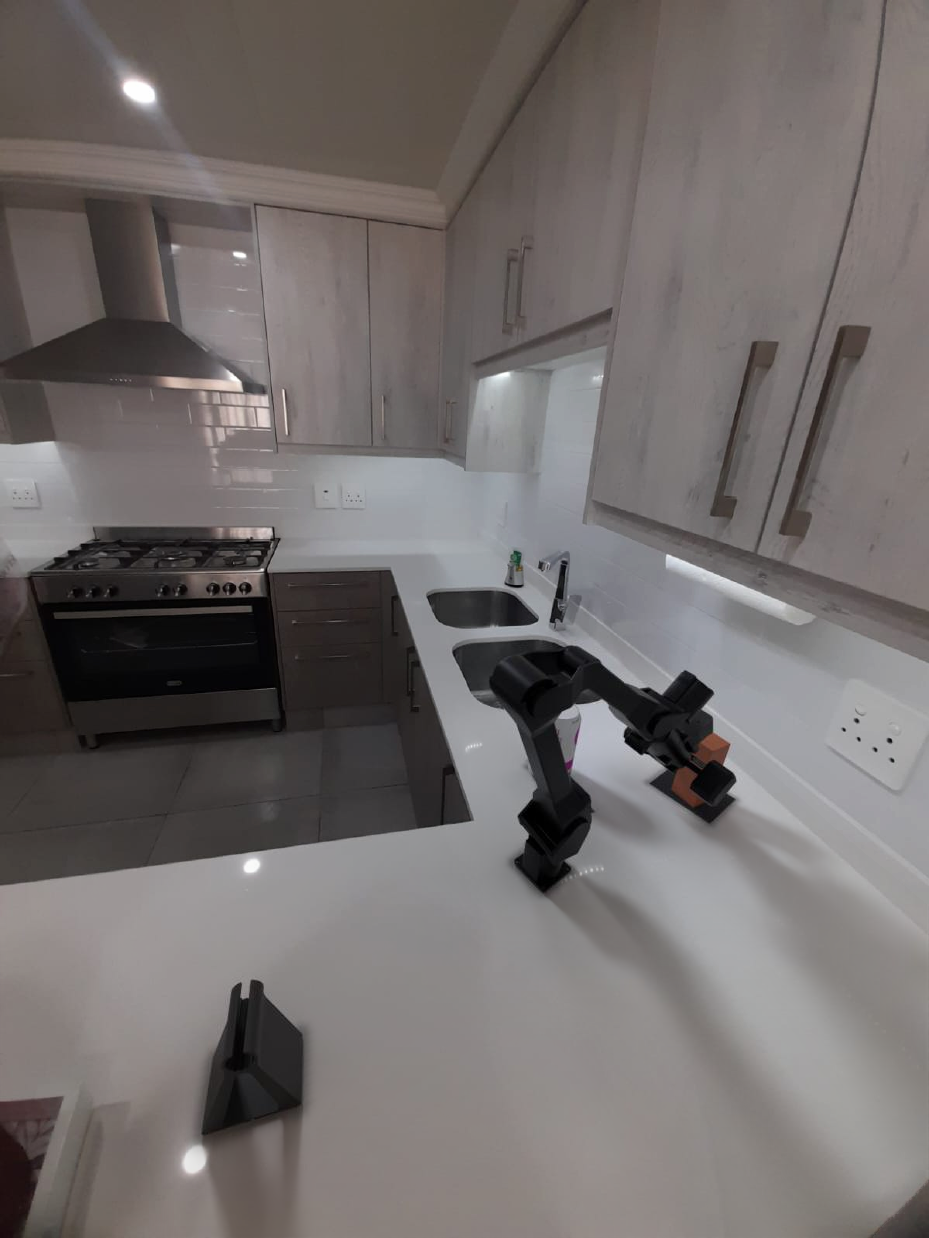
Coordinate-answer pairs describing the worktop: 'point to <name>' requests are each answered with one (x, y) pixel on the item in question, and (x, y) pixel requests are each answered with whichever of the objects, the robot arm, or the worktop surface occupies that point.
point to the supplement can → (567, 734)
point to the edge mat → (702, 810)
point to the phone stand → (253, 1063)
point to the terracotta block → (709, 750)
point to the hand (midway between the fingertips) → (688, 772)
